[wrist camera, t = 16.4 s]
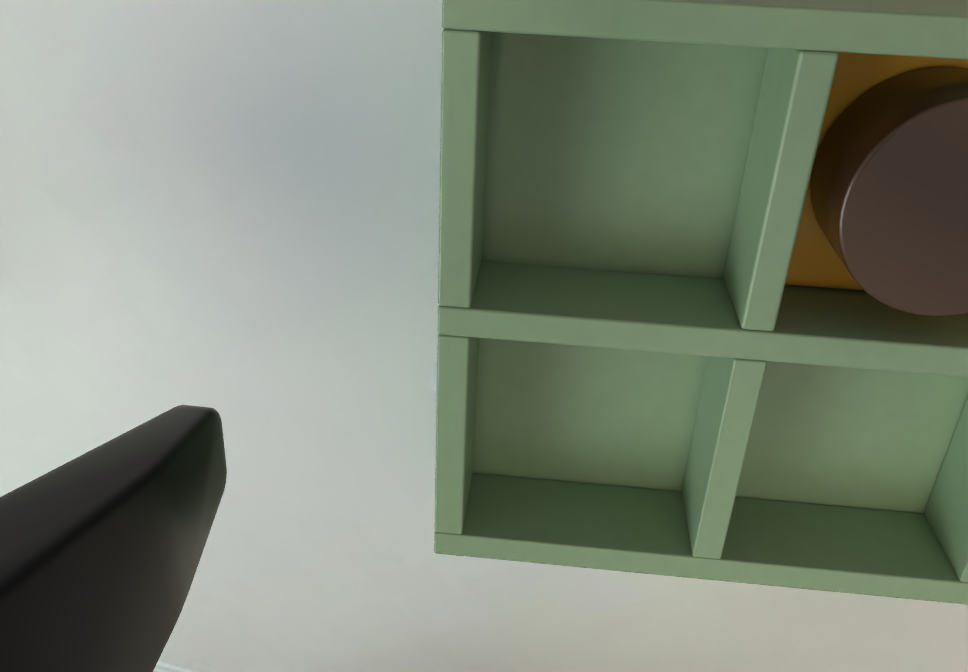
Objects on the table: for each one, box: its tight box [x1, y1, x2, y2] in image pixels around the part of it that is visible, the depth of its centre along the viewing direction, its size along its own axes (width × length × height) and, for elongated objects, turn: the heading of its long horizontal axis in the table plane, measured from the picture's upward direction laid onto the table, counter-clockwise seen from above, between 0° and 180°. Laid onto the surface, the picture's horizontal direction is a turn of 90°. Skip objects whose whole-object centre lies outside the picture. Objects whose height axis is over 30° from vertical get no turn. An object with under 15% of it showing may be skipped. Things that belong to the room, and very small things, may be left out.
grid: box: [434, 0, 968, 604], centre depth 19 cm, size 13×20×3 cm
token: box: [810, 66, 968, 316], centre depth 17 cm, size 4×4×2 cm
